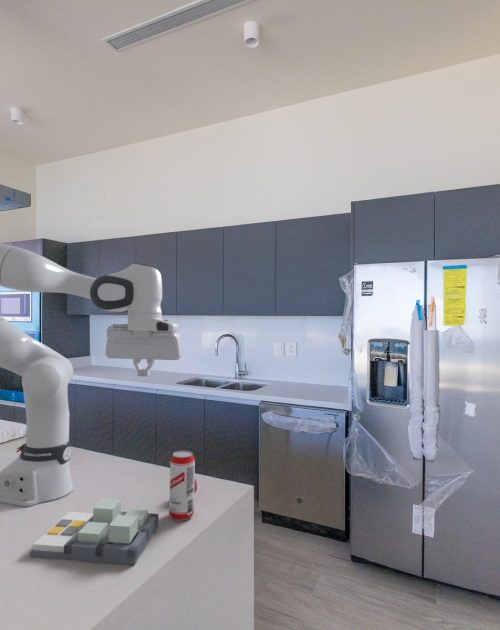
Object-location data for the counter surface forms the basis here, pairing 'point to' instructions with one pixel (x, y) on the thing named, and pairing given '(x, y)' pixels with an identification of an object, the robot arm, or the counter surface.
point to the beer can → (182, 485)
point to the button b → (106, 510)
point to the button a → (93, 532)
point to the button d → (139, 516)
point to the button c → (123, 529)
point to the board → (66, 546)
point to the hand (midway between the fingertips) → (143, 376)
